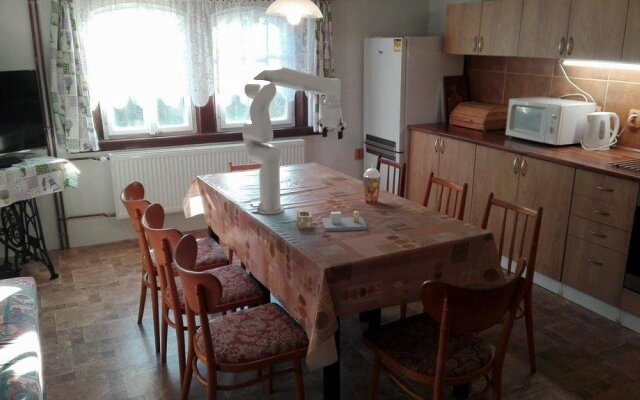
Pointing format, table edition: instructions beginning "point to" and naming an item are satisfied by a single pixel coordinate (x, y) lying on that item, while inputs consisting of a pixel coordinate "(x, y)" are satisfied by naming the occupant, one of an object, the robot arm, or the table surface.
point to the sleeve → (304, 220)
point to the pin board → (343, 222)
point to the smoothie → (371, 185)
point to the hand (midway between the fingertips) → (332, 138)
